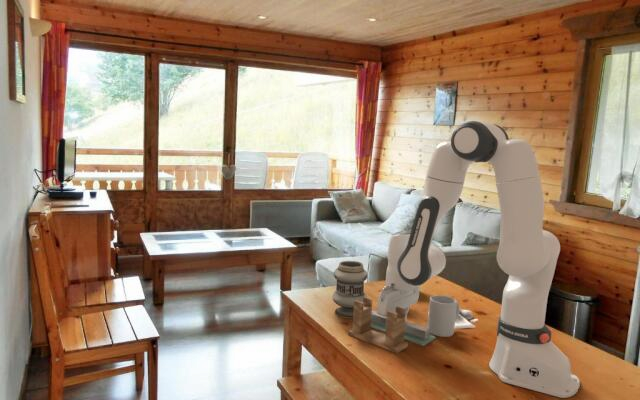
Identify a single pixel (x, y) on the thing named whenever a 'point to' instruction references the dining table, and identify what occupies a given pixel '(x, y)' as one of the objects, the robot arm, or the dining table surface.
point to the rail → (409, 328)
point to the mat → (406, 336)
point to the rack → (363, 332)
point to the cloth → (464, 320)
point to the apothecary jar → (349, 287)
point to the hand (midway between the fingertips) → (396, 322)
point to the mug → (442, 315)
